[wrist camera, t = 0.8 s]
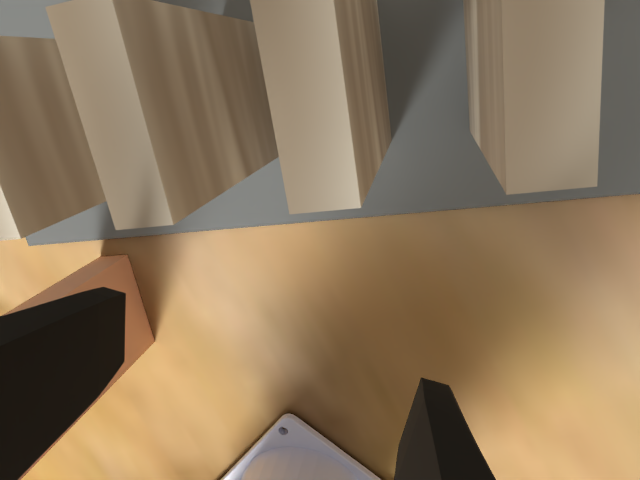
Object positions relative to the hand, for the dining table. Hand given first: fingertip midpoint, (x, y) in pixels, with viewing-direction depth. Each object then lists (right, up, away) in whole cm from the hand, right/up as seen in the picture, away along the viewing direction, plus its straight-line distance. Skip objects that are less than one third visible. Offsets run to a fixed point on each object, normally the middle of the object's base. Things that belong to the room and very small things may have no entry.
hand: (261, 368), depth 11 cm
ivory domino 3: (+3, +9, +7) cm, 12 cm away
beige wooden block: (+7, +9, +5) cm, 13 cm away
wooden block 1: (-6, +8, +9) cm, 14 cm away
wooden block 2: (-1, +9, +8) cm, 12 cm away
